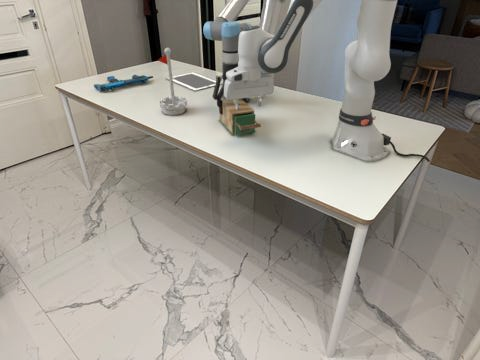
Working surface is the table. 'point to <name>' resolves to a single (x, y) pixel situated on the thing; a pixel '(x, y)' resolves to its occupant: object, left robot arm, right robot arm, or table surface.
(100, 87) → the submachine gun
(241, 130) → the drawer
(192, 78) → the tablet
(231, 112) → the tan storage bin
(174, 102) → the flag stand
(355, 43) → the right robot arm
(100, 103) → the table surface
